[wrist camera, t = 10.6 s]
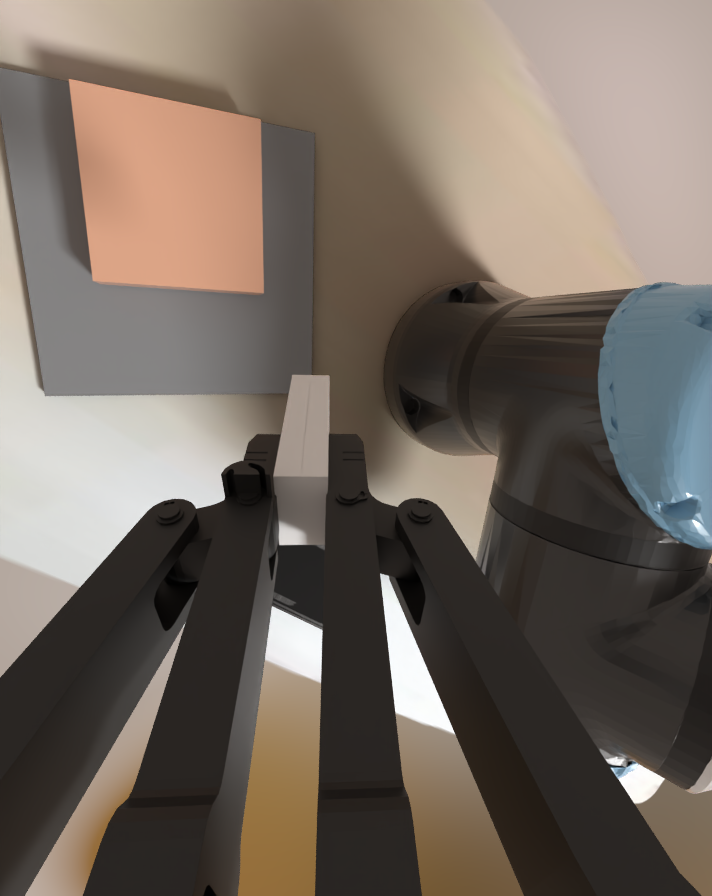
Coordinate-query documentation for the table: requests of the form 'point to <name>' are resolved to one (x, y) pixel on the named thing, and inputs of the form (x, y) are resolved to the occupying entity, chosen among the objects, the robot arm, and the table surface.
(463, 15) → the table surface
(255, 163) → the tile
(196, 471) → the table surface
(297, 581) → the phone
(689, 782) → the robot arm
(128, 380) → the mat
